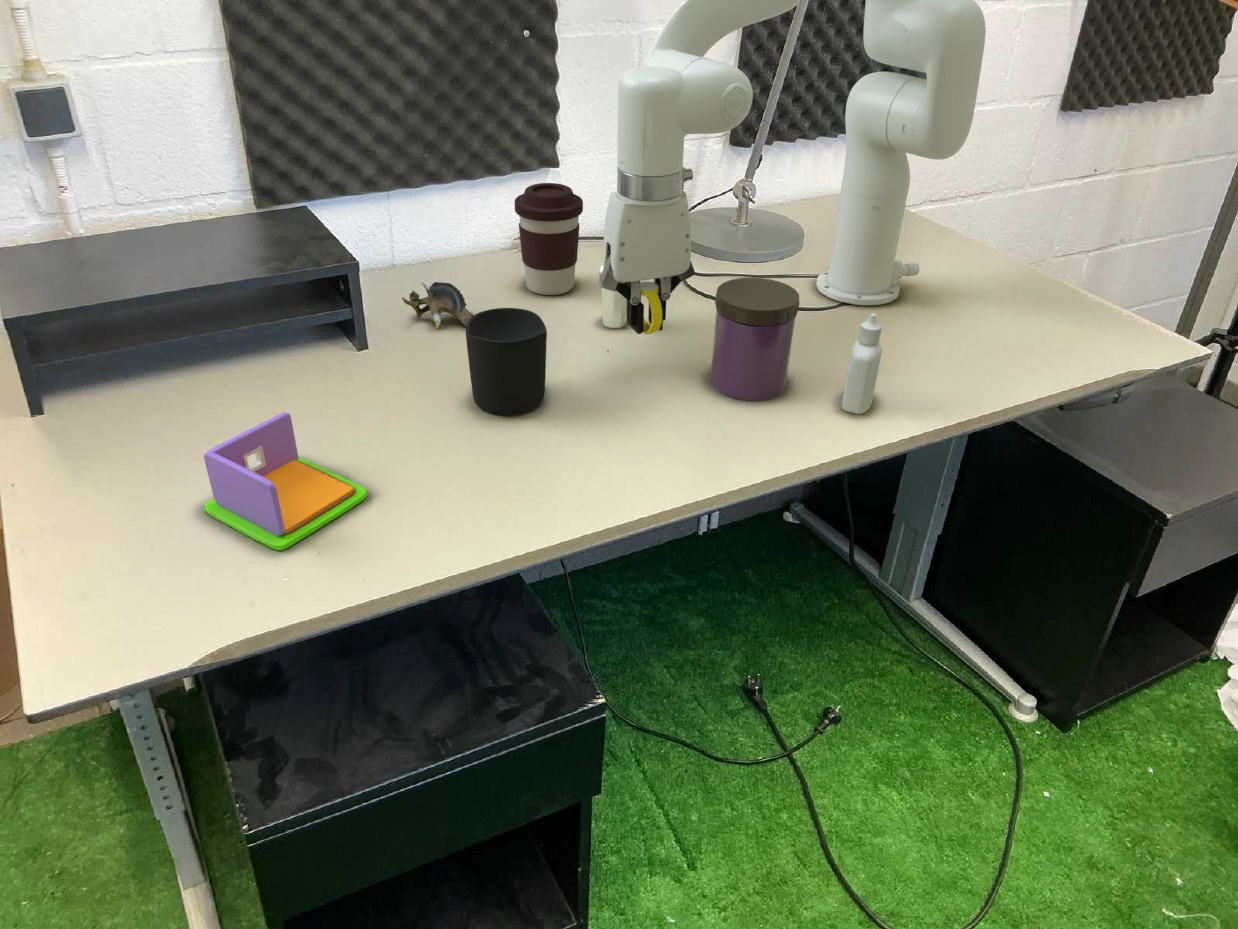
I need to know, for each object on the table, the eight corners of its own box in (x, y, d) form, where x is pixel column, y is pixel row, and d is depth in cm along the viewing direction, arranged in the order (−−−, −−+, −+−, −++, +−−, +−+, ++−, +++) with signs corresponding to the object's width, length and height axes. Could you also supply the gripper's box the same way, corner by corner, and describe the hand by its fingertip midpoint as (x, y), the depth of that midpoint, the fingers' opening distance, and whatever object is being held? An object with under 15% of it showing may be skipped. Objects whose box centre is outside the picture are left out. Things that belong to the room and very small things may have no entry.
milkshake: (632, 315, 139) (634, 249, 133) (629, 331, 134) (631, 263, 129) (601, 313, 139) (602, 247, 134) (596, 329, 135) (597, 261, 129)
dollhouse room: (199, 510, 97) (184, 453, 93) (294, 458, 105) (284, 404, 101) (279, 554, 91) (267, 495, 87) (373, 495, 100) (365, 439, 96)
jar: (763, 361, 128) (773, 278, 121) (799, 394, 120) (812, 308, 114) (698, 371, 125) (704, 287, 118) (730, 406, 117) (739, 318, 111)
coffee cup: (570, 271, 152) (570, 176, 144) (591, 295, 144) (592, 196, 136) (509, 278, 149) (506, 182, 141) (528, 303, 141) (525, 203, 133)
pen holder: (562, 394, 119) (562, 319, 113) (518, 426, 112) (515, 349, 106) (501, 374, 123) (497, 301, 117) (454, 405, 116) (448, 329, 110)
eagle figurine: (402, 327, 131) (465, 321, 129) (399, 275, 131) (462, 268, 129) (424, 335, 138) (484, 329, 136) (421, 286, 138) (481, 279, 137)
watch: (624, 322, 123) (625, 278, 120) (644, 318, 124) (645, 274, 121) (646, 341, 119) (648, 296, 115) (666, 336, 120) (668, 292, 116)
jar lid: (772, 288, 122) (774, 273, 121) (812, 320, 115) (815, 304, 113) (701, 297, 119) (703, 282, 118) (738, 330, 112) (739, 314, 110)
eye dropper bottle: (827, 403, 119) (842, 313, 112) (859, 391, 121) (875, 302, 115) (853, 418, 116) (870, 326, 109) (885, 405, 118) (904, 315, 112)
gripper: (699, 166, 116) (691, 307, 127) (574, 180, 112) (576, 324, 122) (726, 185, 110) (715, 331, 121) (595, 200, 106) (596, 350, 116)
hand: (645, 326), depth 121 cm, fingers closed on watch, 2 cm apart
